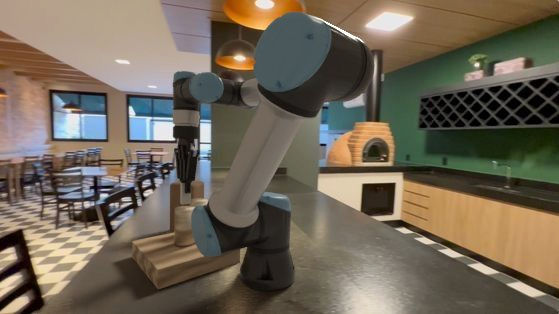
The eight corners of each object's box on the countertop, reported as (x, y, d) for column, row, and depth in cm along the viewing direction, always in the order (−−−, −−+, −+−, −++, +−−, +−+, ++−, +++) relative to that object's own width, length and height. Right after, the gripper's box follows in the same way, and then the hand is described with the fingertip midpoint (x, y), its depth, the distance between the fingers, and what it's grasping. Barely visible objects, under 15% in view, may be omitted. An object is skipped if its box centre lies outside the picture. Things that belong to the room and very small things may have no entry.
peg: (198, 258, 83) (199, 208, 82) (178, 264, 79) (179, 212, 78) (190, 252, 87) (190, 205, 87) (170, 257, 83) (171, 207, 82)
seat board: (239, 262, 83) (240, 210, 82) (158, 289, 66) (158, 225, 65) (203, 239, 100) (203, 196, 99) (131, 256, 84) (131, 206, 83)
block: (192, 237, 103) (192, 184, 101) (168, 234, 105) (168, 183, 103) (204, 228, 112) (205, 181, 111) (182, 226, 114) (183, 179, 113)
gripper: (208, 125, 79) (207, 205, 80) (189, 126, 88) (188, 198, 90) (183, 124, 74) (182, 209, 75) (165, 125, 83) (165, 201, 85)
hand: (185, 203), depth 82 cm, fingers closed
